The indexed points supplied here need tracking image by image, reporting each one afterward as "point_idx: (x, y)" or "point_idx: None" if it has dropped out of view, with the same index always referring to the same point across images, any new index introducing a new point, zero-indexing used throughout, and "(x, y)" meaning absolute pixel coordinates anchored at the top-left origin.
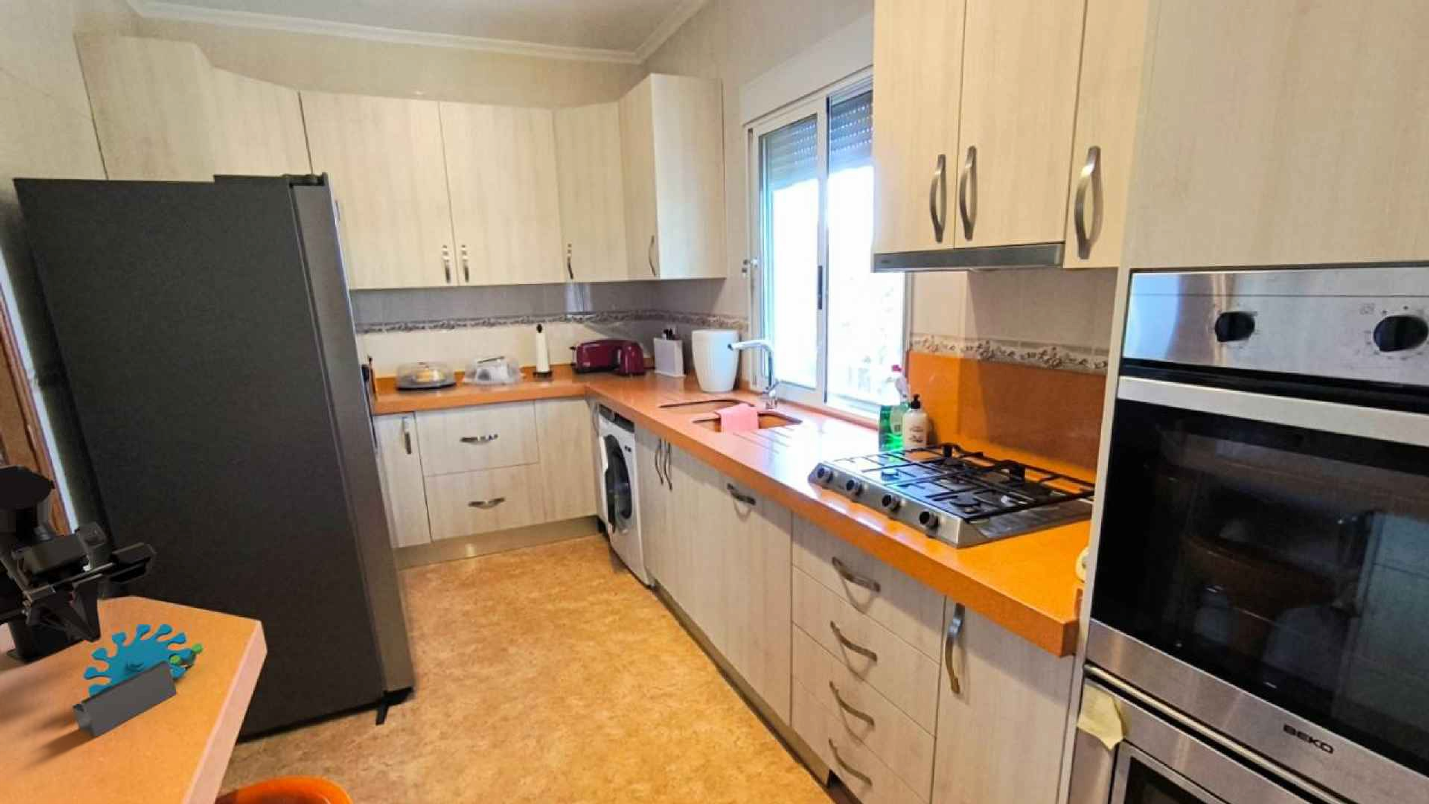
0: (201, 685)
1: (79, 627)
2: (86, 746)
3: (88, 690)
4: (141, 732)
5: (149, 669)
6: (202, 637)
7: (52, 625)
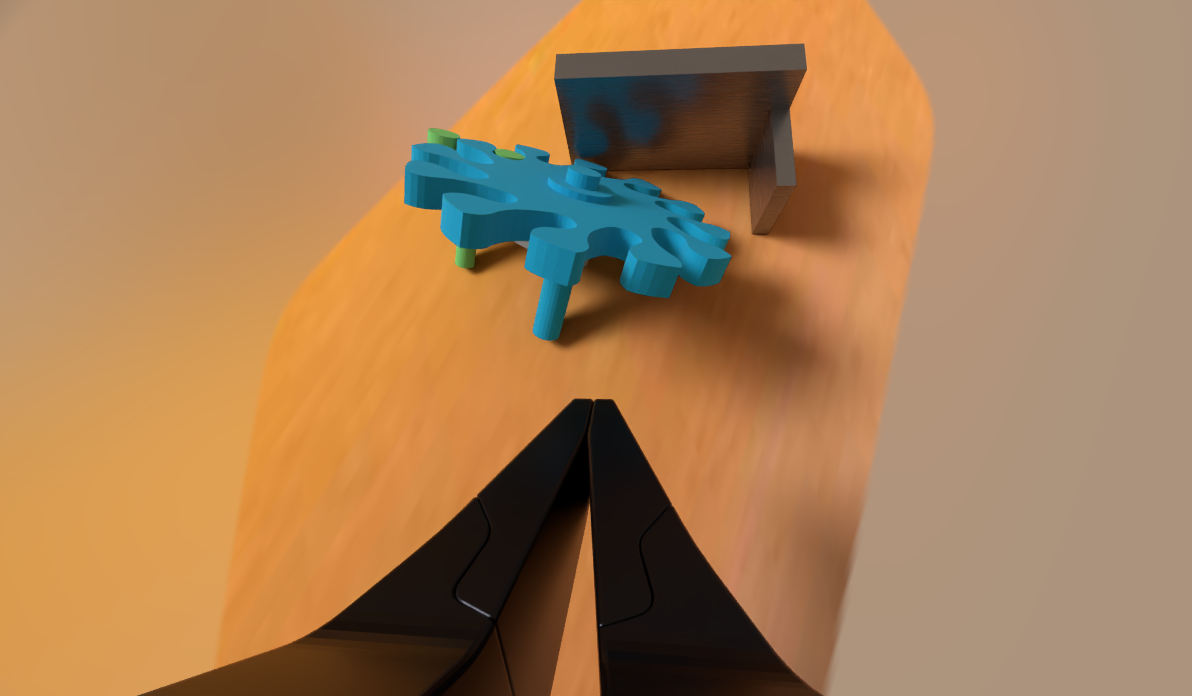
0: (528, 131)
1: (639, 452)
2: None
3: (729, 236)
4: None
5: (607, 62)
6: (331, 422)
7: None
